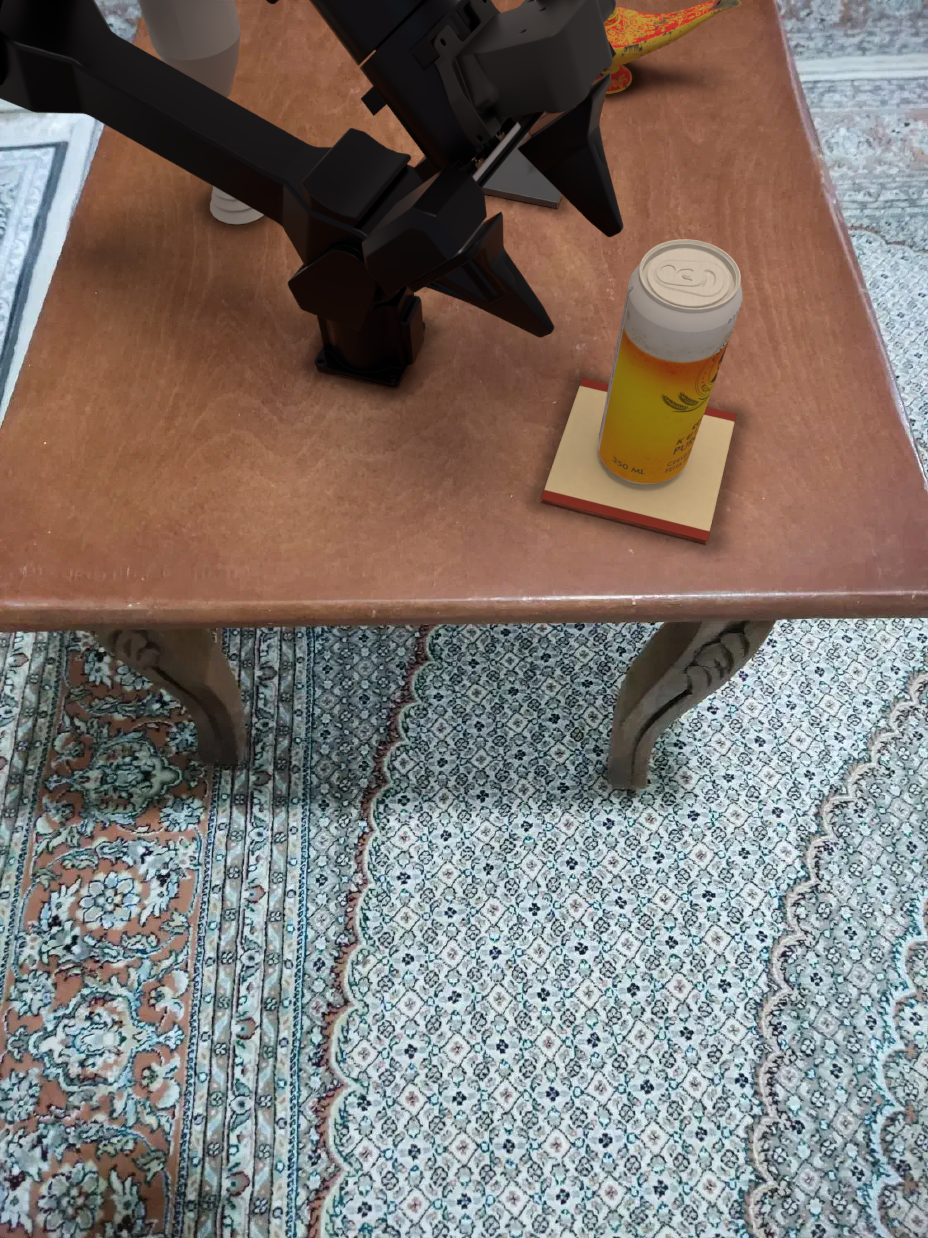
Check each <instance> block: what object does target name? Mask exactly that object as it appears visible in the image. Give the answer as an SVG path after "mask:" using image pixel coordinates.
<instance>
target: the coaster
mask: <svg viewBox="0 0 928 1238" xmlns="http://www.w3.org/2000/svg"><path fill="white" fill-rule="evenodd" d="M528 134H529V133H527V134H526V135H525V136H524V137H523V139H522V140H521V141H520V142H519V144H518V145H517V146H516V147H515V148H514V150H513V151H512V152H511V153H510V155H509V156H508V157H507V158H506V159H505V161H504V162H503V163H502V164H501V166H500V167H499V168H498V169H497V170H496V172H495V173H494V174H493V175H492V177H491V178H490V179H489V180H488V181H487V183H486V184H485V185H484V186H483V188H482V190H483V192H484V193H485V195H488V196H493V197H497V198H498V197H499V198H502V199H507V200H511V201H512V200H513V201H517V202H523V203H526V204H527V203H528V204H532V205H538V206H542V207H547V208H551V209H558V207H559V205H560V203H561V200H562V198H563V195H562V194H561V193H560V192H559V191H558V190H557V189H556V188H555V187H554V186H553V185H552V184H551V183H550V182H549V181H548V180H547V179H546V178H545V177H544V176H543V174H541V173H540V172H539V171H538V170H537V169H536V168H535V167H534V166H533V165H532V164H531V163H530V162H529V161H528V160H527V159H526V158H525V157H524V156H523V155H522V154H521V153H520V152H519V150H518V149H517V148H518V147H519V145H520V144H521V143H522V142H523V140H524V139H525V138H526V137H527V136H528ZM501 136H502V135H501ZM501 136H500V137H501ZM479 162H480V161H479Z"/></svg>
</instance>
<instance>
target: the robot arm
mask: <svg viewBox="0 0 928 1238" xmlns="http://www.w3.org/2000/svg"><path fill="white" fill-rule="evenodd" d="M265 1H266V3H268V4H270V5H276V4H277V3H278V2H279V1H280V0H265ZM308 1H309V2H310V4H311V5H312V6H313V8H314V9H315V10H316V12H317V13H318V14H319V16H320V17H321V18H322V20H323V21H324V22H325V24H326V25H327V27H329V30H331V32H332V33H333V34H334V36H335V38H337V40H338V41H339V42H340V44H341V45H342V47H343V48H344V50H346V53H348V54H349V56H350V57H351V59H352V60H353V62H354V63H355V65H356V66H357V67H359V69H360V71H361V72H362V73H363V75H364V76H365V78H366V79H367V80H368V81H369V83H370V84H371V87H370V88H369V89H368V90H367V91H366V93H364V95H363V96H361V97H360V101H361V102H362V103H363V104H364V106H365V107H366V108H367V109H368V111H369V112H370V113H371V115H372V116H373V117H375V116H376V115H377V114H378V113H379V112H380V111H381V110H382V109H383V108H384V107H386V106H387V107H388V108H389V110H390V111H391V112H392V114H393V115H394V116H395V118H396V119H397V120H398V122H399V123H400V124H401V126H402V127H403V128H404V130H405V132H407V134H408V135H409V136H410V138H411V140H413V142H414V143H415V145H416V146H417V148H418V149H419V150H420V151H421V153H422V154H423V156H422V158H421V159H420V160H419V161H418V162H417V163H416V164H415V165H414V166H412V165H410V164H409V162H410V161H411V160H412V156H411V155H410V154H409V153H405V152H399V151H396V150H393V149H392V148H389V147H387V146H385V145H384V144H382V143H381V142H379V141H377V140H376V139H375V138H374V137H372V136H371V135H370V134H369V133H367V132H365V131H364V130H361V129H357V128H354V127H349V128H348V129H347V130H346V131H345V132H344V133H343V135H342V136H341V137H340V138H339V139H338V140H337V141H336V142H335V143H334V145H333V146H315V145H312V144H309V143H307V142H305V141H304V140H302V139H300V138H299V137H297V136H295V135H293V134H291V133H289V132H288V131H286V130H284V129H283V128H281V127H279V126H278V125H276V124H274V123H272V122H271V121H269V120H267V119H265V118H263V117H262V116H259V114H256V113H254V112H253V111H251V110H249V109H248V108H245V107H244V106H242V105H241V104H238V103H237V102H235V101H233V100H232V99H230V98H228V97H227V98H226V97H225V96H223V95H221V94H219V93H217V92H216V91H214V90H212V89H210V88H209V87H207V86H205V85H203V84H202V83H200V82H198V81H196V80H195V79H193V78H191V77H189V76H188V75H186V74H184V73H182V72H181V71H179V70H177V69H175V68H174V67H172V66H170V65H168V64H166V63H165V62H163V61H162V60H161V59H160V58H158V57H156V56H154V55H152V54H150V53H149V52H147V51H145V50H143V49H142V48H140V47H138V46H137V45H135V44H133V43H131V42H130V41H128V40H126V39H124V38H123V37H121V36H120V35H118V34H116V33H115V32H114V31H113V30H112V29H111V27H110V25H109V23H108V21H107V20H106V18H105V16H104V14H103V13H102V11H101V9H100V8H99V5H98V3H97V2H96V0H0V100H3V101H4V102H7V103H9V104H12V105H13V106H14V105H15V106H17V107H20V108H22V109H24V110H26V111H29V112H31V113H35V114H66V115H67V114H68V115H69V114H70V115H71V114H73V115H74V114H75V115H87V116H89V117H91V118H93V119H94V120H96V121H98V122H100V123H101V124H103V125H105V126H107V127H108V128H111V129H112V130H114V131H116V132H117V133H119V134H121V135H122V136H123V137H125V138H128V139H129V140H131V141H133V142H135V143H137V144H138V145H140V146H142V147H144V148H145V149H147V150H148V151H151V152H153V153H154V154H156V155H158V156H159V157H161V158H163V159H165V160H167V162H170V163H172V164H173V165H174V166H175V165H176V166H177V167H179V168H180V169H182V170H184V171H185V172H188V173H190V174H191V175H193V176H195V177H196V178H198V179H200V180H202V181H204V182H205V183H207V184H209V185H210V186H212V187H213V186H214V187H216V188H217V189H219V190H221V191H223V192H224V193H226V194H228V195H230V196H232V197H233V198H235V199H237V200H239V201H240V202H242V203H244V204H246V205H247V206H249V207H251V208H253V209H254V210H256V211H258V212H260V213H261V214H263V215H264V216H265V217H267V218H268V219H270V220H271V221H274V222H275V223H276V224H278V225H279V226H280V227H282V229H283V230H284V232H285V234H286V235H287V237H288V239H289V241H290V242H291V244H292V246H293V248H294V250H295V251H296V253H297V255H298V256H299V258H300V260H301V262H302V265H300V266H299V268H298V269H297V270H296V272H295V273H294V274H292V276H291V277H290V278H289V280H288V281H287V287H288V288H289V290H290V292H291V294H292V296H293V299H294V300H295V301H296V304H297V305H298V307H299V309H300V310H301V311H303V312H305V313H308V314H311V315H314V316H316V319H317V324H318V330H319V335H320V339H321V345H322V346H321V348H320V350H319V351H318V352H317V353H318V354H317V355H316V357H315V359H314V366H315V369H316V370H317V371H320V372H324V373H327V374H332V375H336V376H340V377H344V378H349V379H352V380H357V381H361V382H365V383H370V384H374V385H377V386H381V387H385V388H390V389H397V388H399V387H400V385H401V384H402V382H403V379H404V377H405V375H406V373H407V371H408V369H409V367H411V366H412V365H413V364H414V363H415V361H416V359H417V357H418V355H419V354H420V353H419V352H420V350H421V348H422V347H423V344H424V342H425V332H426V330H427V328H426V327H427V326H426V322H425V321H424V319H423V318H424V317H423V303H422V299H421V297H420V296H419V295H415V294H416V293H417V292H419V291H421V290H422V289H424V288H427V289H430V290H431V291H432V290H433V291H435V292H438V293H440V294H443V295H446V296H449V297H451V298H454V299H457V300H460V301H462V302H465V303H467V304H469V305H471V306H474V307H476V308H477V309H480V310H482V311H485V312H486V313H488V314H490V315H492V316H494V317H496V318H498V319H501V320H502V321H504V322H506V323H508V324H511V325H512V326H514V327H516V328H518V329H520V330H523V331H524V332H526V333H529V334H531V335H532V336H535V337H537V338H540V339H541V338H545V337H547V336H549V335H552V334H553V332H554V330H555V325H554V323H553V321H552V319H551V317H550V315H549V314H548V312H547V310H546V308H545V307H544V305H543V304H542V302H541V300H540V298H538V295H536V293H535V291H534V290H533V288H532V287H531V286H530V284H529V283H528V281H527V280H526V279H525V277H524V276H523V274H522V273H521V271H520V269H519V268H518V266H517V264H515V262H514V261H513V259H512V258H511V256H510V255H509V254H508V252H507V250H506V248H505V245H504V244H505V243H504V215H503V212H502V211H499V212H498V213H496V214H493V216H491V217H490V218H488V213H487V212H488V211H487V205H486V204H487V203H486V194H485V193H484V192H483V190H482V188H483V186H484V185H485V184H486V183H487V181H488V180H489V179H490V178H491V177H492V175H493V174H494V173H495V172H496V170H497V169H498V168H499V167H500V166H501V164H502V163H503V162H504V161H505V159H506V158H507V157H508V156H509V155H510V153H511V152H512V151H513V150H514V148H515V147H516V146H517V145H518V144H519V142H520V141H521V140H522V139H523V137H524V136H525V135H526V134H527V133H529V134H528V136H527V137H526V138H525V139H524V140H523V142H522V143H521V144H520V145H519V147H518V148H517V149H518V150H519V152H520V153H521V154H522V155H523V156H524V157H525V158H526V159H527V160H528V161H529V162H530V163H531V164H532V165H533V166H534V167H535V168H536V169H537V170H538V171H539V172H540V173H541V174H543V176H544V177H545V178H546V179H547V180H548V181H549V182H550V183H551V184H552V185H553V186H554V187H555V188H556V189H557V190H558V191H559V192H560V193H561V194H562V197H564V198H565V199H566V200H567V201H568V202H569V203H570V204H571V205H572V206H573V208H575V209H576V210H577V211H578V213H580V214H581V216H583V217H584V218H585V219H586V220H587V221H588V222H589V223H590V224H592V226H594V227H595V228H596V229H598V230H599V231H600V232H601V233H602V234H603V235H604V236H606V237H607V238H613V237H614V236H617V235H619V234H620V233H621V232H622V231H623V230H624V222H623V217H622V215H621V210H620V207H619V203H618V198H617V195H616V192H615V188H614V184H613V180H612V176H611V173H610V168H609V165H608V161H607V156H606V152H605V148H604V143H603V138H602V133H601V127H600V125H601V124H600V121H601V116H602V112H603V107H604V103H605V98H606V95H607V94H606V91H607V89H608V87H609V86H610V84H611V74H610V72H609V73H607V74H605V75H604V76H603V77H601V78H600V79H598V80H597V81H595V82H594V80H595V79H597V78H598V76H599V75H600V74H601V73H602V71H606V70H608V69H609V68H610V66H611V65H612V63H613V58H614V56H615V55H616V52H615V50H614V49H613V47H612V45H611V44H610V42H609V40H608V38H607V34H606V30H605V26H604V22H605V21H606V20H607V19H608V18H609V16H610V15H611V14H612V13H613V11H614V10H615V8H616V7H617V1H616V0H523V2H522V3H521V4H519V6H517V7H515V8H512V9H509V10H506V11H503V12H501V11H500V10H499V9H498V8H497V7H496V6H495V4H494V2H493V1H492V0H308ZM363 62H364V63H363ZM361 64H362V65H361ZM593 82H594V83H593ZM592 83H593V84H592ZM501 135H502V136H501ZM500 136H501V137H500ZM479 161H480V162H479ZM487 218H488V219H487Z"/></svg>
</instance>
